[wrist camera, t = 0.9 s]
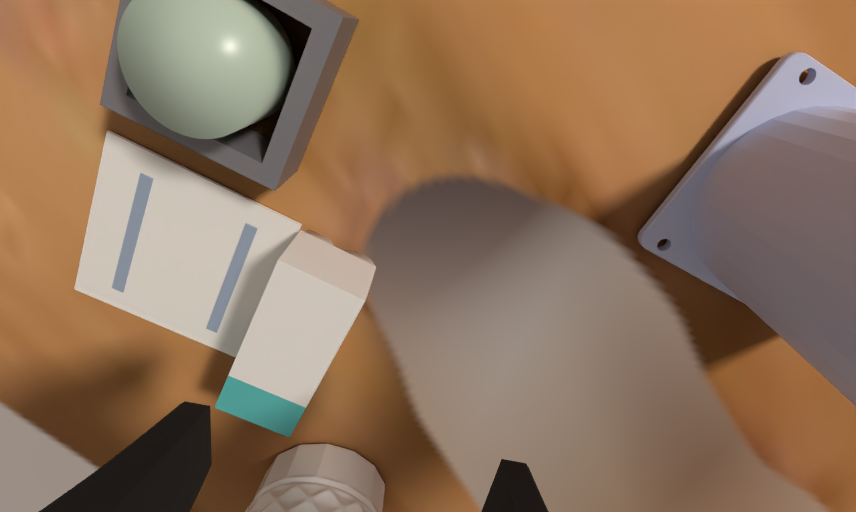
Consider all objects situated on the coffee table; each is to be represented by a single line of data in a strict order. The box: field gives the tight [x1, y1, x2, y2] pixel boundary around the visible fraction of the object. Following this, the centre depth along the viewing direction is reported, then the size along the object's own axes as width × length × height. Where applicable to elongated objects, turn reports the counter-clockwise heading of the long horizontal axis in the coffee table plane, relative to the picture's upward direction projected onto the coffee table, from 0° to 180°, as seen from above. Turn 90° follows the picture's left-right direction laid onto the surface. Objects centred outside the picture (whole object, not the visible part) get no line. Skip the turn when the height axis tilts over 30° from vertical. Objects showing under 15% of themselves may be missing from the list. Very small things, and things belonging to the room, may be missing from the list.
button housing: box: [100, 0, 359, 191], centre depth 15 cm, size 6×6×2 cm
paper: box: [75, 130, 302, 358], centre depth 20 cm, size 8×8×1 cm
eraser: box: [215, 230, 376, 438], centre depth 20 cm, size 8×3×3 cm, turn 152°
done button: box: [117, 0, 295, 139], centre depth 14 cm, size 4×4×3 cm
